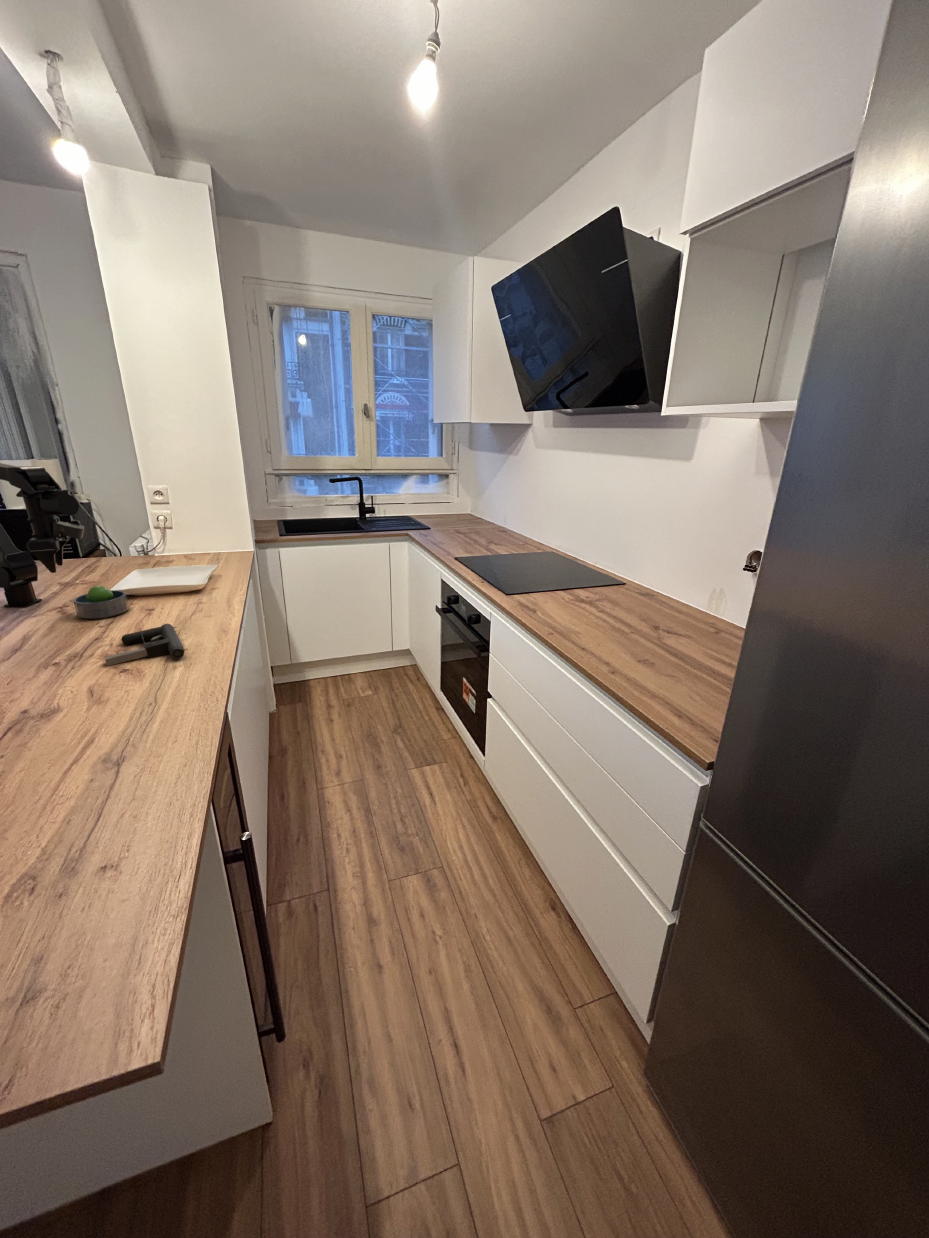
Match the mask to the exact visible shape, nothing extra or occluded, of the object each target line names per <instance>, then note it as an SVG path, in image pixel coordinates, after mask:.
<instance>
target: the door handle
mask: <svg viewBox="0 0 929 1238" xmlns="http://www.w3.org/2000/svg"><path fill="white" fill-rule="evenodd" d="M176 628H178V626H173V625H172V624H170V623H163V624H162V625H161V626H158V627H157V626H156V627H153V628H148V629H144V630H139V631H135V632H131V633H126V634H123V635H122V636H121V638H120V640H121V643H122V644H123V645H127V646H128V645H133V644H137V643H141V642H143V645H144V647H140V648H136V649H132V650H127V651H124V652H119V653H116V654H111V655H108V656H104V661H105V664H106V666H107V667H109V666H114V665H118V664H121V663H125V662H130V661H133V660H138V659H141V658H145V657H147V658H148V659H154V658H156V657H161V656H164V655H168V654H169V656H171V658H173V659H174V660H175V659H176V660H177V659H179V660H180V659H181V658H183V657H184V655H185V651H187V650H188V648H185V649H184V647H183V644H182V642H181V641H180V638H179V636H178V634H177V632H178V631H179V630H175V629H176ZM161 638H162V639H161ZM146 641H150V642H147V643H146Z"/></svg>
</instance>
